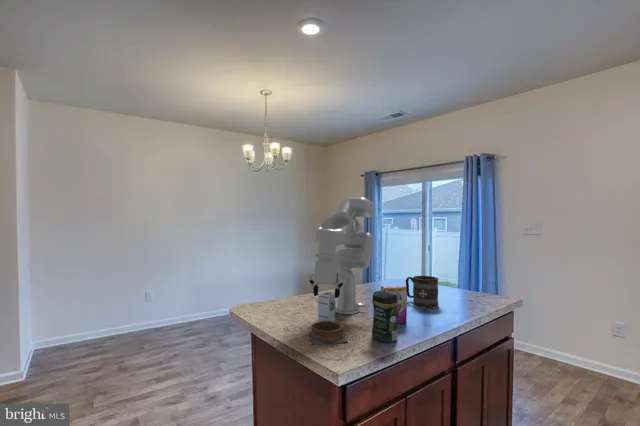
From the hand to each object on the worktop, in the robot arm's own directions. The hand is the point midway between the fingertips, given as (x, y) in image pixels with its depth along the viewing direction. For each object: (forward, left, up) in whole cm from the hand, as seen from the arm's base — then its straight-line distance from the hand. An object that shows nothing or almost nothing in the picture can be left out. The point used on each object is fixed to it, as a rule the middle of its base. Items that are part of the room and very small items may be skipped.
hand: (326, 296), depth 145 cm
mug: (-58, -31, -13) cm, 67 cm away
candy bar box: (-31, -2, -13) cm, 34 cm away
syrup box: (0, -1, -13) cm, 13 cm away
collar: (+2, +12, -13) cm, 18 cm away
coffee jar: (-20, +17, -13) cm, 30 cm away
